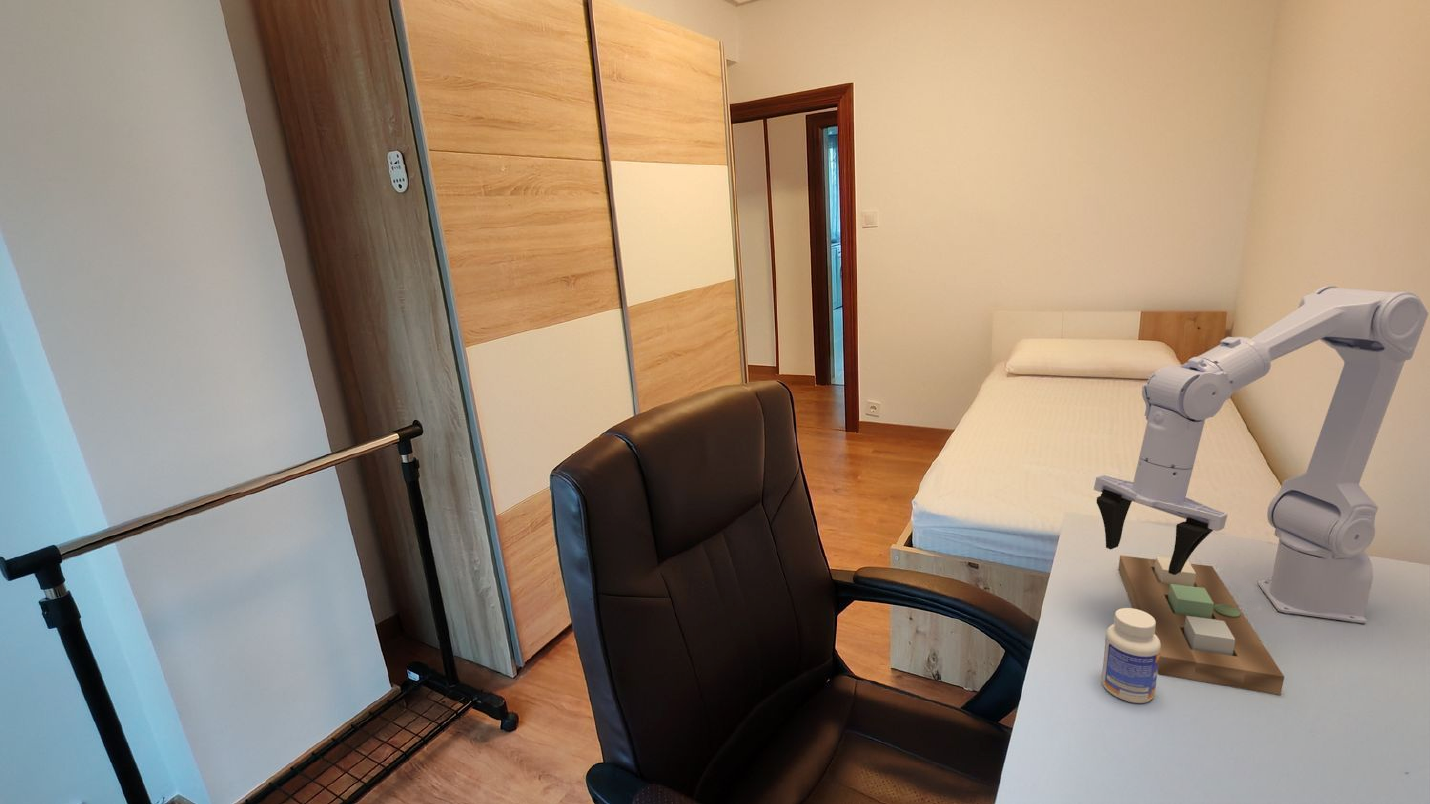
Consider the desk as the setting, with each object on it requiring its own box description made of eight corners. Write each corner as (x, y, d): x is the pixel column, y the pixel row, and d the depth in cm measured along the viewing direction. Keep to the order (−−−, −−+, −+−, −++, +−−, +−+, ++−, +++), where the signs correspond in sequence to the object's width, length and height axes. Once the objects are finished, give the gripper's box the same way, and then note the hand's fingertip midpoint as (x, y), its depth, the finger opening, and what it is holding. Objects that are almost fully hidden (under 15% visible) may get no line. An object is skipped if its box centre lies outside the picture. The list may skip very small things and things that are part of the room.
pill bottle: (1162, 707, 74) (1173, 633, 71) (1110, 702, 75) (1119, 629, 72) (1142, 675, 79) (1152, 605, 76) (1093, 671, 80) (1101, 602, 78)
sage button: (1201, 607, 89) (1204, 588, 88) (1210, 623, 86) (1214, 603, 85) (1167, 602, 91) (1169, 583, 90) (1174, 618, 87) (1177, 599, 86)
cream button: (1185, 578, 96) (1188, 560, 95) (1193, 592, 93) (1196, 573, 92) (1153, 574, 98) (1156, 556, 97) (1160, 587, 94) (1162, 569, 93)
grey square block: (1220, 641, 82) (1224, 621, 81) (1231, 661, 78) (1235, 639, 78) (1183, 636, 83) (1186, 615, 83) (1191, 654, 80) (1195, 633, 79)
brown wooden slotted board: (1209, 581, 98) (1212, 564, 97) (1280, 695, 75) (1284, 674, 74) (1118, 569, 102) (1120, 553, 102) (1158, 674, 79) (1161, 654, 78)
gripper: (1091, 448, 85) (1071, 542, 88) (1220, 486, 74) (1191, 592, 77) (1117, 442, 89) (1097, 532, 92) (1244, 476, 77) (1216, 578, 81)
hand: (1142, 559), depth 85 cm, fingers open, 7 cm apart
